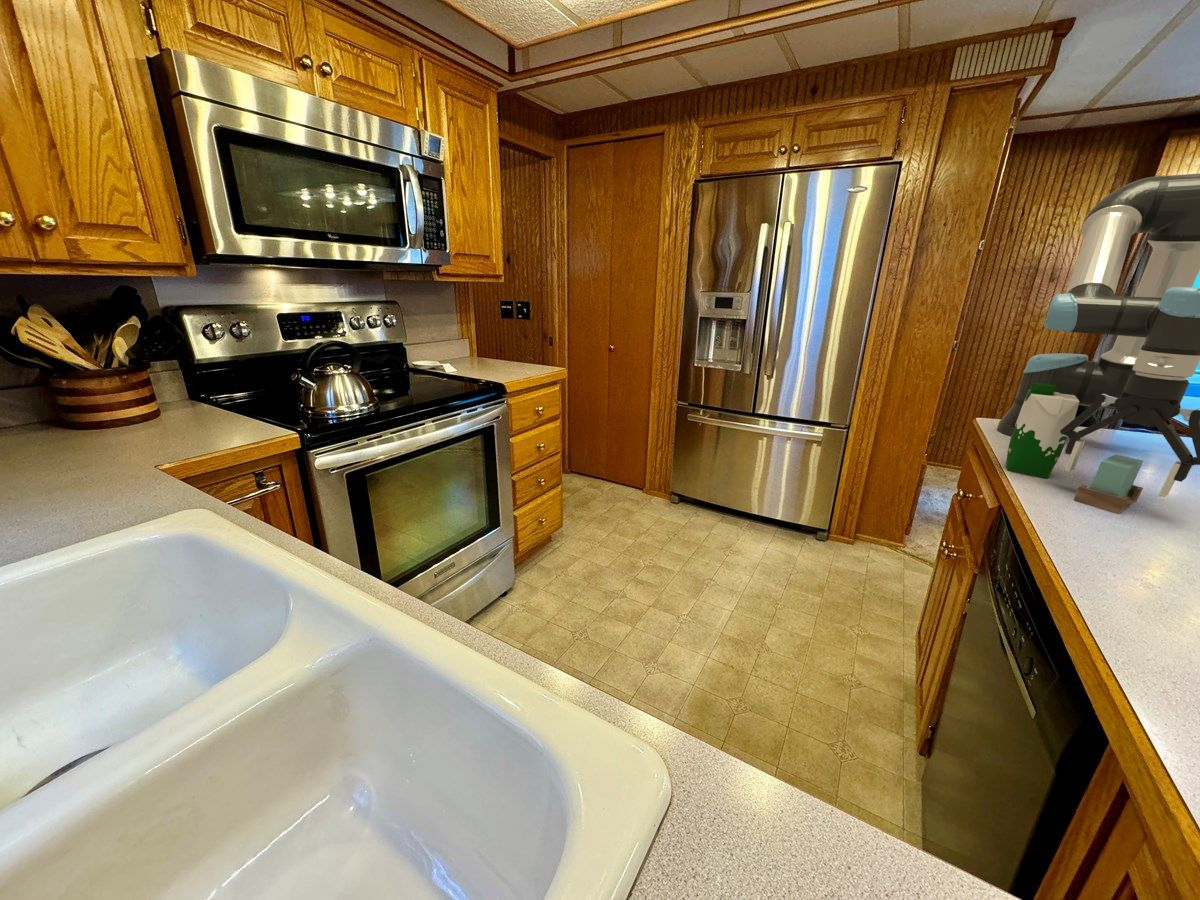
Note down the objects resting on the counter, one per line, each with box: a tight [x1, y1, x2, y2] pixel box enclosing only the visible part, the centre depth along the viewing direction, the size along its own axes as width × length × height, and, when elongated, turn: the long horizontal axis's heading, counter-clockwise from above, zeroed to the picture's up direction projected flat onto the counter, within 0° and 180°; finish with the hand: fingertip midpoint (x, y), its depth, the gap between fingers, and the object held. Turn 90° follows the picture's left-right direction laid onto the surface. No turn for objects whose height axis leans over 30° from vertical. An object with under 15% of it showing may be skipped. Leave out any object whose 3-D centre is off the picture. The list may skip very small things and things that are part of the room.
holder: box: [1073, 484, 1144, 515], centre depth 96 cm, size 12×7×3 cm, turn 121°
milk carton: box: [1005, 382, 1080, 479], centre depth 108 cm, size 9×9×20 cm
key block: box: [1089, 453, 1144, 498], centre depth 95 cm, size 9×4×8 cm, turn 121°
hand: (1113, 482), depth 95 cm, fingers open, 13 cm apart
